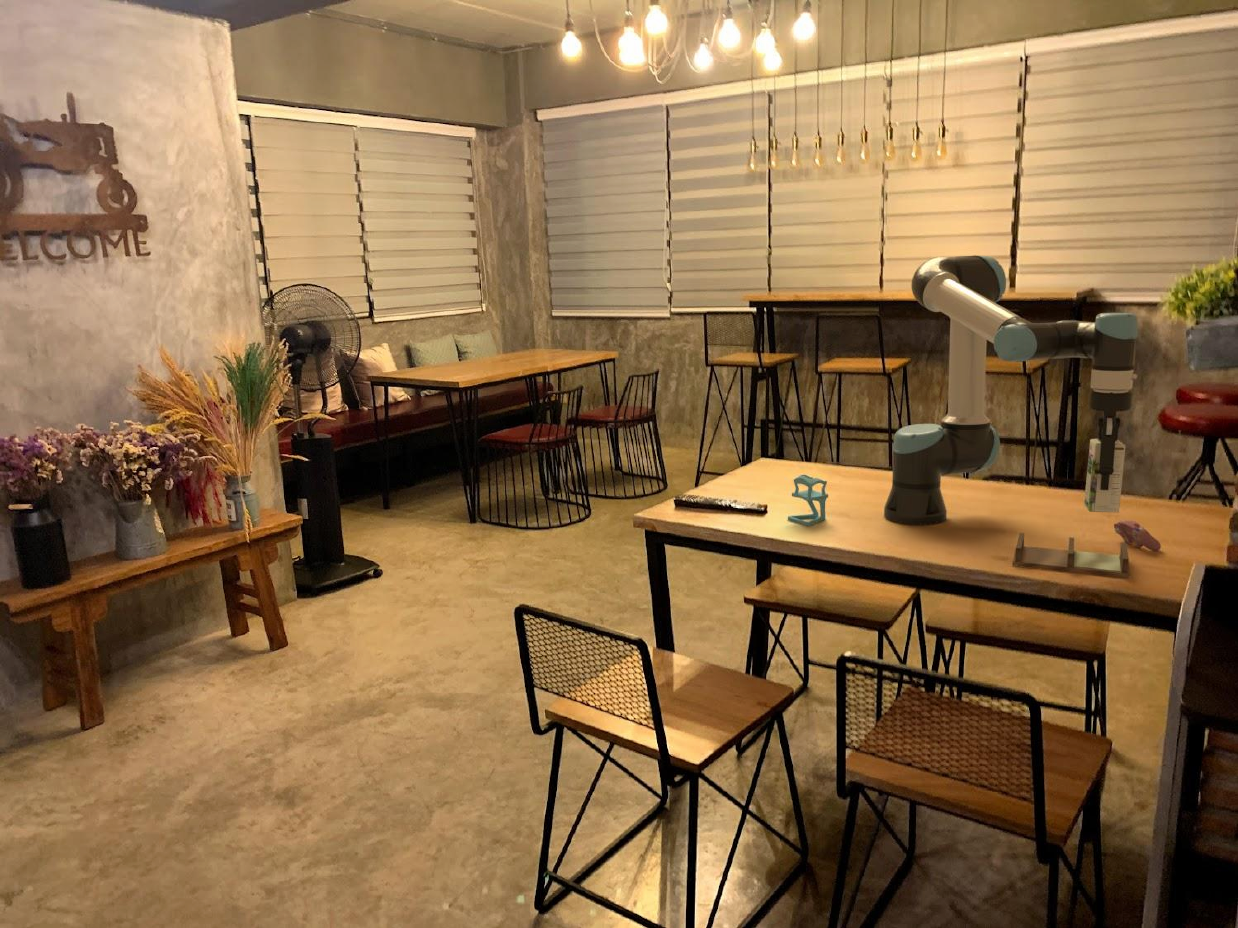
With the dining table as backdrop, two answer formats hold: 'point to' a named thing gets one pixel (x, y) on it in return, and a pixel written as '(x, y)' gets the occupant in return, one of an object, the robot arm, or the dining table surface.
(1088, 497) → the syrup box
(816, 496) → the chair
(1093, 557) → the slot rack
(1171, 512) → the dining table surface
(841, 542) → the dining table surface
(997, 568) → the dining table surface
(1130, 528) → the video game controller
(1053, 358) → the robot arm
